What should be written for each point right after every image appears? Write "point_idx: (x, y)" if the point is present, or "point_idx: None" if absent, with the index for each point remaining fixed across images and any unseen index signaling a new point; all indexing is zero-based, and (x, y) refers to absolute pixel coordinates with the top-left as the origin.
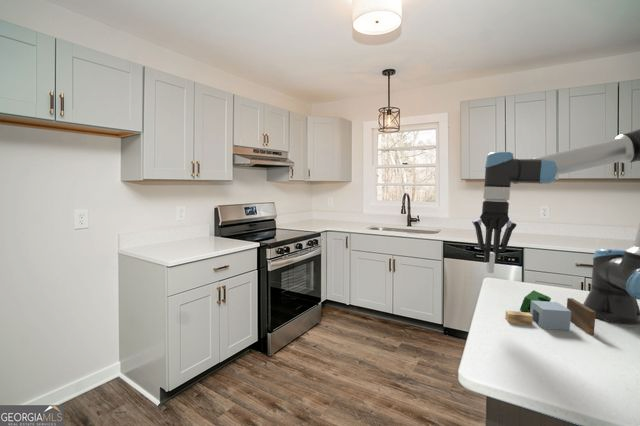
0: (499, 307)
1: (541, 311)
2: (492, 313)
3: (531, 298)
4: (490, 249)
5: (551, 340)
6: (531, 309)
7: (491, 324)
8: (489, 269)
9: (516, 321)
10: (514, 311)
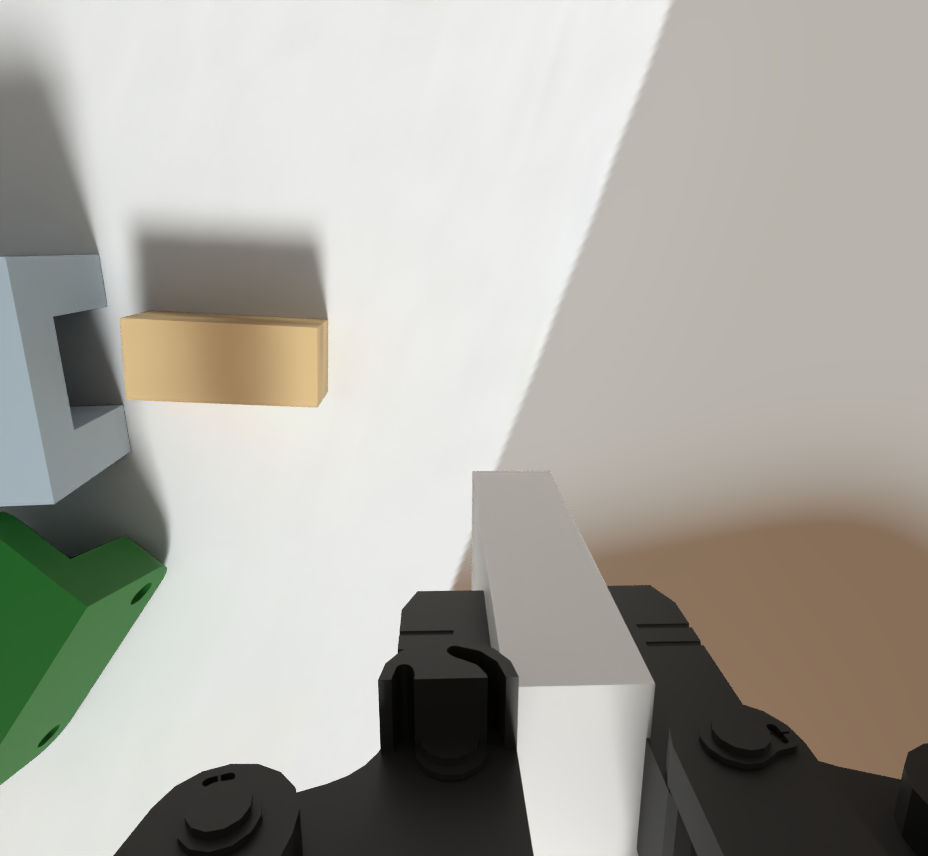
0: (305, 618)
1: (27, 278)
2: (397, 478)
3: (28, 610)
4: (704, 793)
5: (91, 5)
6: (90, 454)
7: (472, 241)
8: (551, 493)
9: (263, 318)
10: (248, 400)
